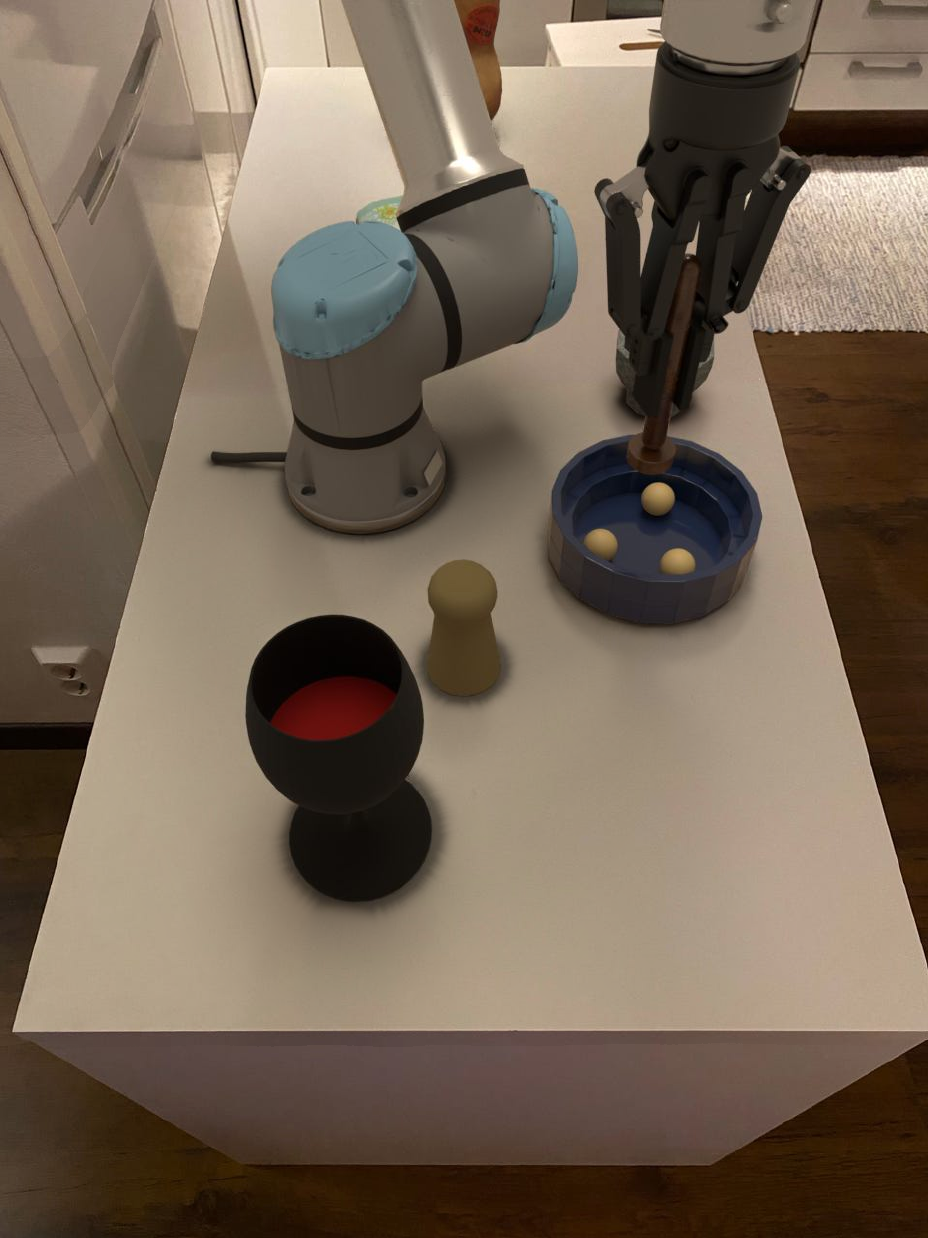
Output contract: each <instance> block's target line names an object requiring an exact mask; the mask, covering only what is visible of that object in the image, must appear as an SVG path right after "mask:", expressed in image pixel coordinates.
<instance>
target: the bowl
mask: <svg viewBox="0 0 928 1238" xmlns="http://www.w3.org/2000/svg"><path fill="white" fill-rule="evenodd" d="M634 435H635V434H627V435H622V436H617V437H612V438H607V439H603V440H600V441H598V442H597V443H595V444H592V445H590V446H588V447H586V448H584V449H581V450H580V451H578V452H577V453H576V454H575V455H574V456H573V457H571V459H570V460H569V461H567V462H566V463H565V464H564V466H563V467H561V469H559V471H558V474H557V477H556V479H555V481H554V484H553V486H552V488H551V491H550V492H551V493H550V503H549V514H548V515H549V516H548V527H547V550H548V551H547V552H548V558H549V560H550V562H551V565H552V566H553V568H554V570H555V572H556V574H557V577H558V578H559V581H561V582H562V583H563V584H564V586H566V587H567V588H568V590H570V591H571V593H572V594H574V595H575V597H577V598H578V599H579V600H581V601H582V602H583V603H586V604H587V605H589V606H591V607H593V608H595V609H597V610H598V611H600V612H601V613H604V614H606V615H608V616H611V617H615V618H620V619H623V620H627V621H631V622H635V623H638V624H639V623H640V624H669V625H670V624H671V625H672V624H673V625H674V624H677V623H681V622H685V621H686V622H687V621H690V620H694V619H698V618H701V617H704V616H706V615H708V614H710V613H711V612H713V611H714V610H716V609H717V608H720V607H721V606H723V605H724V604H726V603H727V602H729V601H730V599H731V598H732V597H733V596H734V594H736V592H737V590H738V589H739V588H740V586H741V585H742V584H743V582H744V581H745V577H746V574H747V571H748V569H749V566H750V563H751V560H752V557H753V554H754V552H755V548H756V545H757V542H758V539H759V535H760V530H761V525H762V521H763V512H762V507H761V503H760V500H759V496H758V495H759V494H758V493H757V490H756V489H755V487H753V485H752V484H751V482H750V481H749V479H748V478H747V477H746V475H745V474H744V472H743V471H742V470H741V469H740V468H739V467H738V466H736V465H734V464H733V462H731V461H729V460H728V459H727V458H726V457H724V456H723V455H722V454H720V452H717V451H715V450H712V449H710V448H708V447H705V446H704V445H701V444H699V443H697V442H695V441H692V440H688V439H684V438H678V437H674V436H669V435H667V436H668V437H669V438H670V439H671V440H672V441H673V442H674V444H675V447H676V453H675V457H674V462H673V465H672V466H671V468H670V469H668V470H667V471H666V472H663V473H660V474H653V475H652V474H644V473H641V472H638V471H636V470H635V469H633V468H632V467H631V466H630V465H629V463H628V462H627V458H626V454H627V448H628V443H629V441H630V439H631V438H632V437H633V436H634ZM653 483H664V484H666V485H668V486H669V487H670V488H671V489H672V490H673V492H674V496H675V502H674V505H673V507H672V509H671V510H670V511H669V512H668V513H666V514H664V515H660V516H655V515H651V514H649V513H648V512H647V511H646V510H645V509H644V508H643V506H642V502H641V497H642V493H643V491H644V490H645V488H646V487H648V486H649V485H651V484H653ZM596 529H605V530H608V531H610V532H611V533H612V534H613V535H614V536H615V538H616V540H617V545H618V547H617V552H616V554H615V556H614V557H613V558H612V559H611V560H609V561H607V560H605V559H603V558H601V557H599V556H597V555H595V554H594V553H592V552H591V551H589V550H588V549H587V548H586V547H585V546H584V545H583V542H584V539H585V537H586V536H587V535H588V534H589V533H590V532H591V531H593V530H596ZM677 548H679V549H684V550H686V551H688V552H689V553H690V554H691V555H692V556H693V558H694V560H695V564H696V567H695V572H691V573H686V574H682V575H667V574H661V571H660V561H661V559H662V557H663V555H664V554H665V553H666V552H668V551H669V550H672V549H677Z"/></svg>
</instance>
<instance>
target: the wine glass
mask: <svg viewBox="0 0 928 1238" xmlns="http://www.w3.org/2000/svg"><path fill="white" fill-rule="evenodd" d="M251 665H252V666H251V668H250V672H249V677H248V682H247V687H246V694H245V713H244V714H245V715H244V717H245V726H246V733H247V738H248V743H249V746H250V748H251V752H252V754H253V757H254V759H255V762H256V764H257V766H259V769H260V770H261V772H262V774H263V775H264V777H265V779H266V780H267V781H268V782H269V783H270V784H271V785H272V786H273V787H274V789H275V790H276V791H277V792H278V793H280V794H281V795H282V796H284V798H286V799H287V800H289V801H290V802H292V803H294V804H296V805H297V807H296V809H295V811H294V813H293V815H292V818H291V822H290V826H289V833H288V845H289V851H290V855H291V858H292V861H293V864H294V866H295V868H296V869H297V871H298V873H299V875H300V876H301V877H302V878H303V880H304V881H305V882H306V883H307V884H308V885H309V886H311V887H312V888H313V889H315V890H316V891H317V892H319V893H321V894H322V895H325V896H327V897H329V898H332V899H334V900H339V901H345V902H367V901H372V900H377V899H380V898H383V897H386V896H388V895H390V894H393V893H394V892H395V891H398V890H399V889H401V888H402V887H403V886H405V885H406V884H407V883H408V882H410V881H411V879H412V878H413V877H414V876H415V875H416V874H417V873H418V872H419V871H420V869H421V867H422V866H423V864H424V863H425V861H426V859H427V856H428V854H429V852H430V849H431V848H430V847H431V844H432V838H433V837H432V836H433V835H432V834H433V827H432V826H433V825H432V818H431V814H430V810H429V807H428V806H427V805H428V804H427V803H426V801H425V799H424V797H423V796H422V795H421V793H420V792H419V791H418V790H417V789H416V787H414V785H412V784H411V783H410V782H409V781H408V780H406V779H407V777H408V776H409V775H410V773H411V772H412V770H413V768H414V766H415V763H416V762H417V759H418V756H419V755H420V750H421V746H422V744H423V739H424V729H425V714H424V713H425V712H424V704H423V698H422V694H421V691H420V688H419V684H418V681H417V679H416V675H415V674H414V671H413V670H412V668H411V666H410V664H409V662H408V659H407V658H406V657H405V654H404V653H403V651H402V650H401V648H400V647H399V646H398V644H396V642H395V641H394V639H393V638H392V637H391V635H389V633H387V632H386V631H385V630H384V629H382V628H381V627H379V626H378V625H376V624H374V623H372V622H371V621H368V620H367V619H364V618H360V617H356V616H353V615H348V614H347V615H346V614H323V615H321V614H320V615H316V616H311V617H307V618H304V619H301V620H299V621H296V622H294V623H291V624H289V625H287V626H286V627H284V628H283V629H281V630H279V631H278V632H277V633H275V635H273V636H272V637H270V639H269V640H268V641H267V642H265V644H264V645H263V646H262V647H261V649H260V650H259V652H258V653H257V655H256V656H255V658H254V661H253V662H252V664H251Z"/></svg>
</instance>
